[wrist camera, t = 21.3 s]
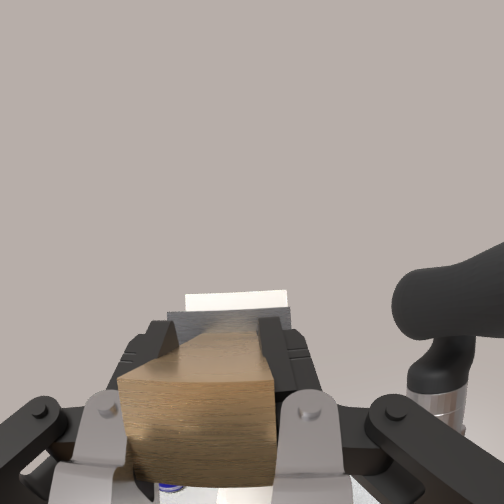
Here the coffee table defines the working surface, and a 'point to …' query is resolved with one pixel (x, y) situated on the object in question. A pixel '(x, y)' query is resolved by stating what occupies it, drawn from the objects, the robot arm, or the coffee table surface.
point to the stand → (252, 498)
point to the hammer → (205, 404)
